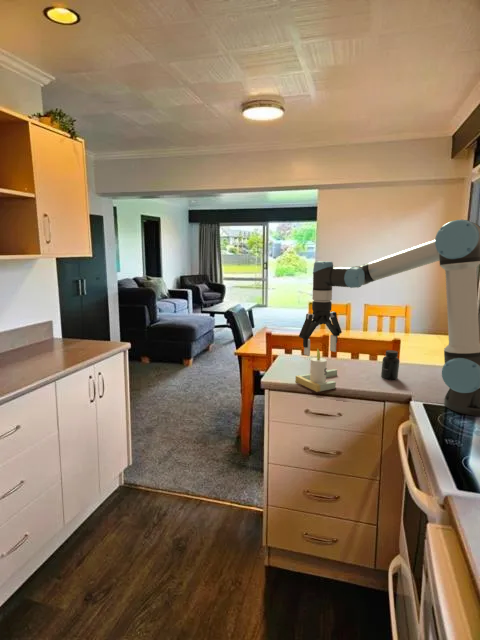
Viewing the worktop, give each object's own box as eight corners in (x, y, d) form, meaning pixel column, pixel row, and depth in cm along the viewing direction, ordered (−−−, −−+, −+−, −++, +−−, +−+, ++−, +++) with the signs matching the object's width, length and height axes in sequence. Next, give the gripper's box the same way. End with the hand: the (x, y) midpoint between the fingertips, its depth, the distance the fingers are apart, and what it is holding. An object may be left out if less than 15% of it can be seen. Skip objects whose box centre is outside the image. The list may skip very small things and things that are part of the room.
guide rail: (357, 383, 168) (357, 377, 168) (316, 391, 157) (317, 385, 157) (334, 374, 180) (334, 369, 179) (295, 381, 169) (295, 375, 169)
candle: (321, 388, 162) (323, 351, 159) (306, 384, 166) (308, 349, 163) (328, 384, 167) (330, 348, 164) (314, 380, 171) (315, 346, 168)
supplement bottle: (379, 379, 175) (382, 352, 172) (382, 374, 180) (384, 348, 178) (396, 381, 171) (399, 354, 169) (398, 377, 177) (401, 350, 175)
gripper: (338, 298, 169) (336, 347, 173) (290, 301, 157) (289, 354, 161) (352, 299, 163) (349, 351, 167) (302, 303, 151) (301, 359, 154)
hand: (320, 353), depth 164 cm, fingers open, 13 cm apart
